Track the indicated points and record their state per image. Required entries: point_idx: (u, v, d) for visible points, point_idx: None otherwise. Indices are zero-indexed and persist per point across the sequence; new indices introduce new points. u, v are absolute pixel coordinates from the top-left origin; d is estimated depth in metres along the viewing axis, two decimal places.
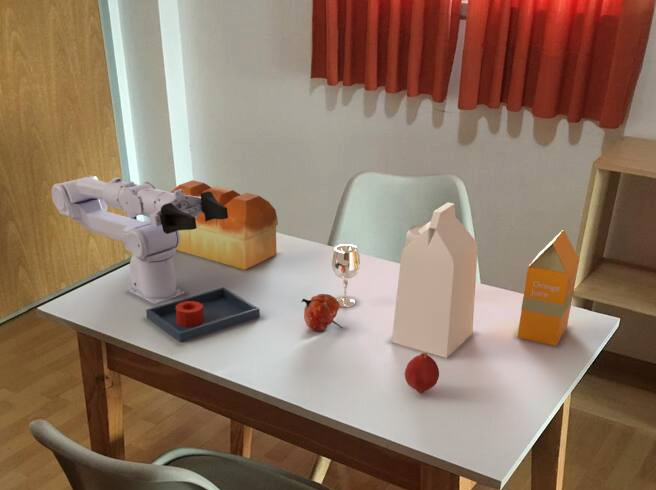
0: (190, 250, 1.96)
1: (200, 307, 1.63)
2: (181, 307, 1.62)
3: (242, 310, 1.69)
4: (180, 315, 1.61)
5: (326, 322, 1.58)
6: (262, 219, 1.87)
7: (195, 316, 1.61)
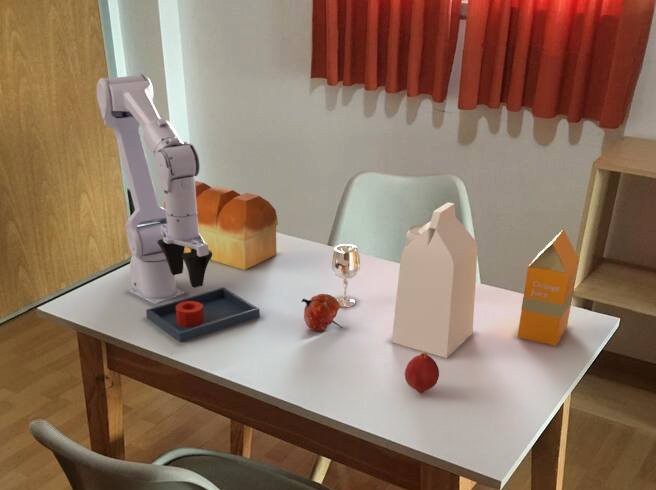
0: (190, 250, 1.96)
1: (200, 307, 1.63)
2: (181, 307, 1.62)
3: (242, 310, 1.69)
4: (180, 315, 1.61)
5: (326, 322, 1.58)
6: (262, 219, 1.87)
7: (195, 316, 1.61)
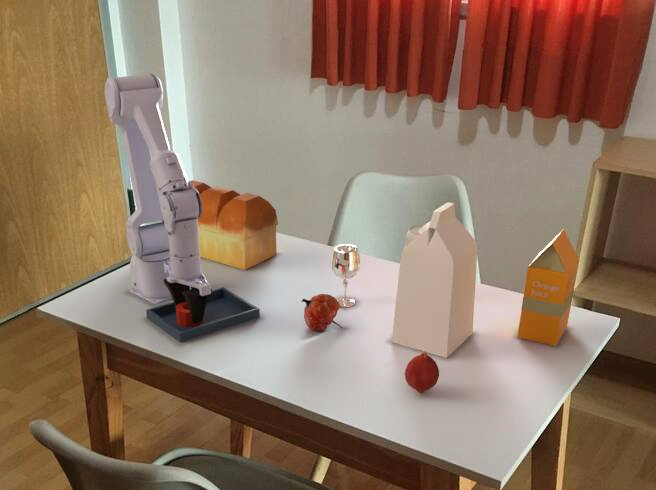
0: None
1: None
2: (181, 307, 1.62)
3: (242, 310, 1.69)
4: (180, 315, 1.61)
5: (326, 322, 1.58)
6: (262, 219, 1.87)
7: None
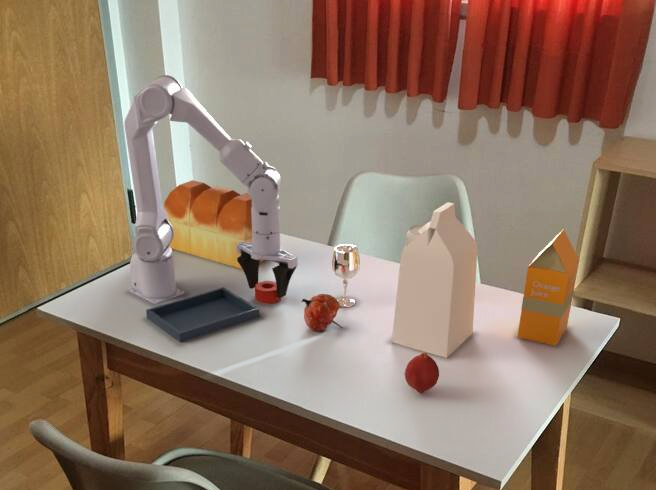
0: (190, 250, 1.96)
1: None
2: (261, 287, 1.72)
3: (242, 310, 1.69)
4: (263, 294, 1.71)
5: (326, 322, 1.58)
6: None
7: None
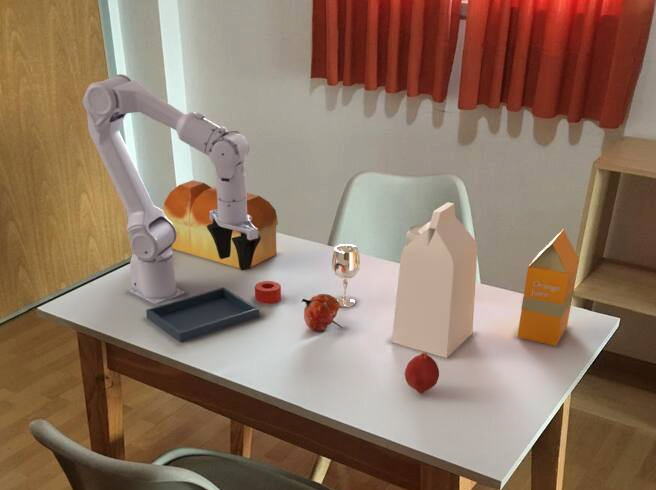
0: (190, 250, 1.96)
1: (278, 285, 1.73)
2: (261, 287, 1.72)
3: (242, 310, 1.69)
4: (263, 294, 1.71)
5: (326, 322, 1.58)
6: (262, 219, 1.87)
7: (277, 294, 1.72)
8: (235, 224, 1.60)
